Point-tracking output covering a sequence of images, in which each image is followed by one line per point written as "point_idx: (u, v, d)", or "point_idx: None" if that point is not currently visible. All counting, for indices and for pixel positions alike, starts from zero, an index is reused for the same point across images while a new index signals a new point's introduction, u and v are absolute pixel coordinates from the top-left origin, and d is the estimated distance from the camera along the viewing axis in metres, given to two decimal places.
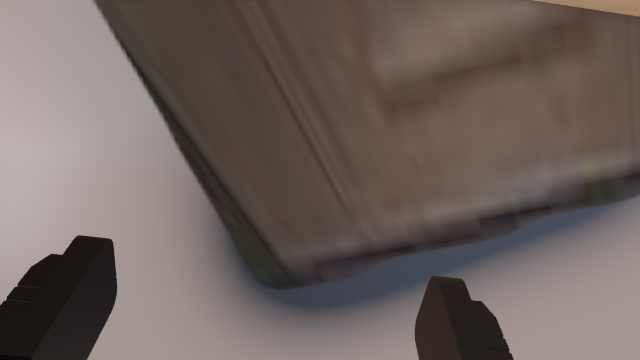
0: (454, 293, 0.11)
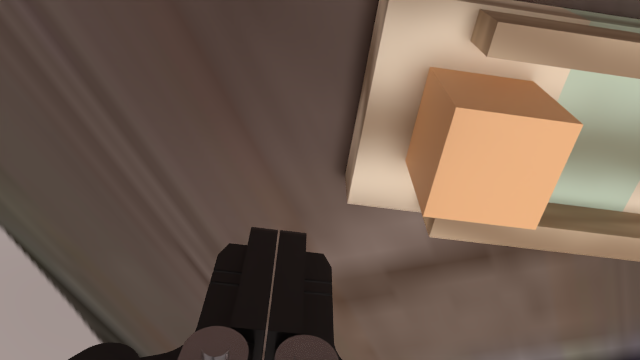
0: (291, 244, 0.12)
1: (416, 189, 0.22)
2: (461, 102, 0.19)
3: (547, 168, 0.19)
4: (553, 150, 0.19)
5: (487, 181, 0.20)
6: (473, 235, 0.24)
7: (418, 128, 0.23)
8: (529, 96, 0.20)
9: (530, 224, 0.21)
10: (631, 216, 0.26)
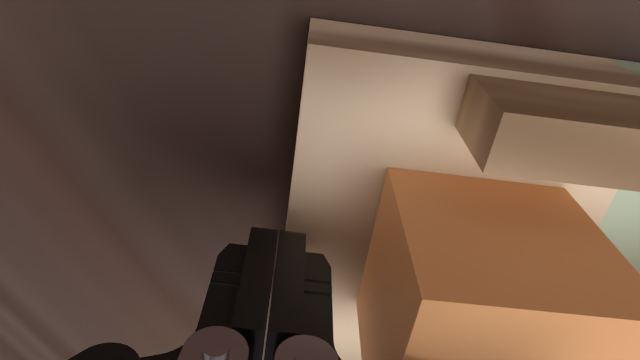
0: (291, 244, 0.12)
1: None
2: (435, 278, 0.09)
3: None
4: None
5: None
6: None
7: (371, 266, 0.14)
8: (564, 236, 0.11)
9: None
10: None
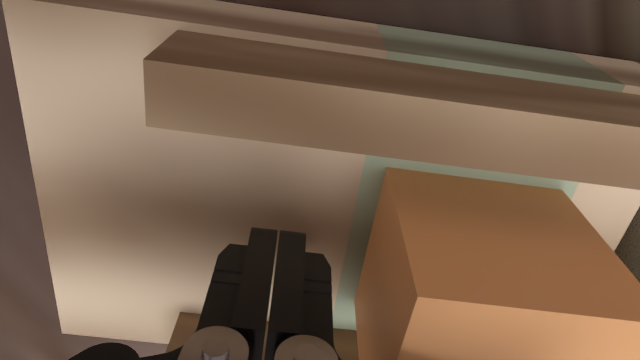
0: (291, 244, 0.12)
1: None
2: (430, 276, 0.09)
3: None
4: None
5: None
6: None
7: (369, 265, 0.14)
8: (559, 237, 0.11)
9: None
10: None
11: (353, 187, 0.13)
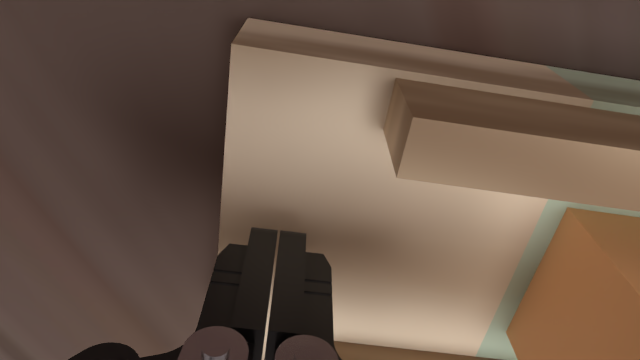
0: (291, 244, 0.12)
1: None
2: None
3: None
4: None
5: None
6: None
7: (541, 300, 0.14)
8: None
9: None
10: None
11: (530, 225, 0.14)
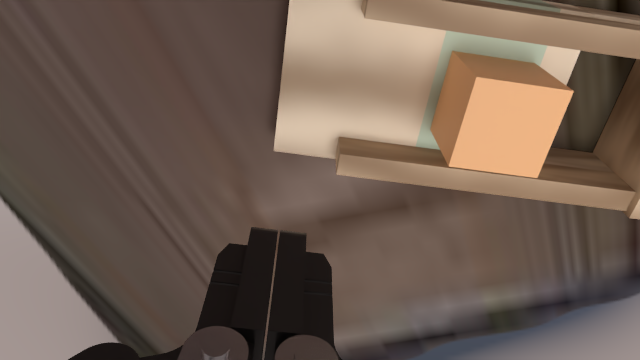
0: (291, 244, 0.12)
1: (441, 148, 0.28)
2: (480, 74, 0.24)
3: (546, 126, 0.25)
4: (550, 111, 0.24)
5: (499, 137, 0.25)
6: (373, 173, 0.29)
7: (442, 100, 0.29)
8: (531, 72, 0.26)
9: (533, 173, 0.26)
10: None
11: (435, 62, 0.28)
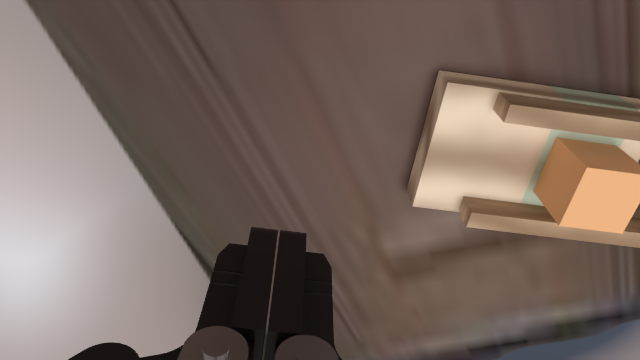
0: (291, 244, 0.12)
1: (549, 209, 0.37)
2: (587, 163, 0.34)
3: (632, 199, 0.35)
4: (636, 189, 0.34)
5: (598, 206, 0.35)
6: (493, 226, 0.39)
7: (547, 172, 0.38)
8: (619, 157, 0.36)
9: (619, 230, 0.36)
10: None
11: (542, 144, 0.38)
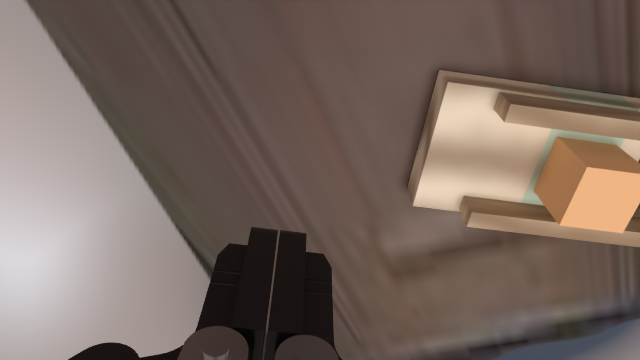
0: (291, 244, 0.12)
1: (549, 209, 0.37)
2: (588, 163, 0.34)
3: (633, 198, 0.35)
4: (637, 189, 0.34)
5: (598, 205, 0.35)
6: (494, 225, 0.39)
7: (547, 172, 0.38)
8: (619, 157, 0.36)
9: (620, 230, 0.36)
10: None
11: (543, 144, 0.38)
